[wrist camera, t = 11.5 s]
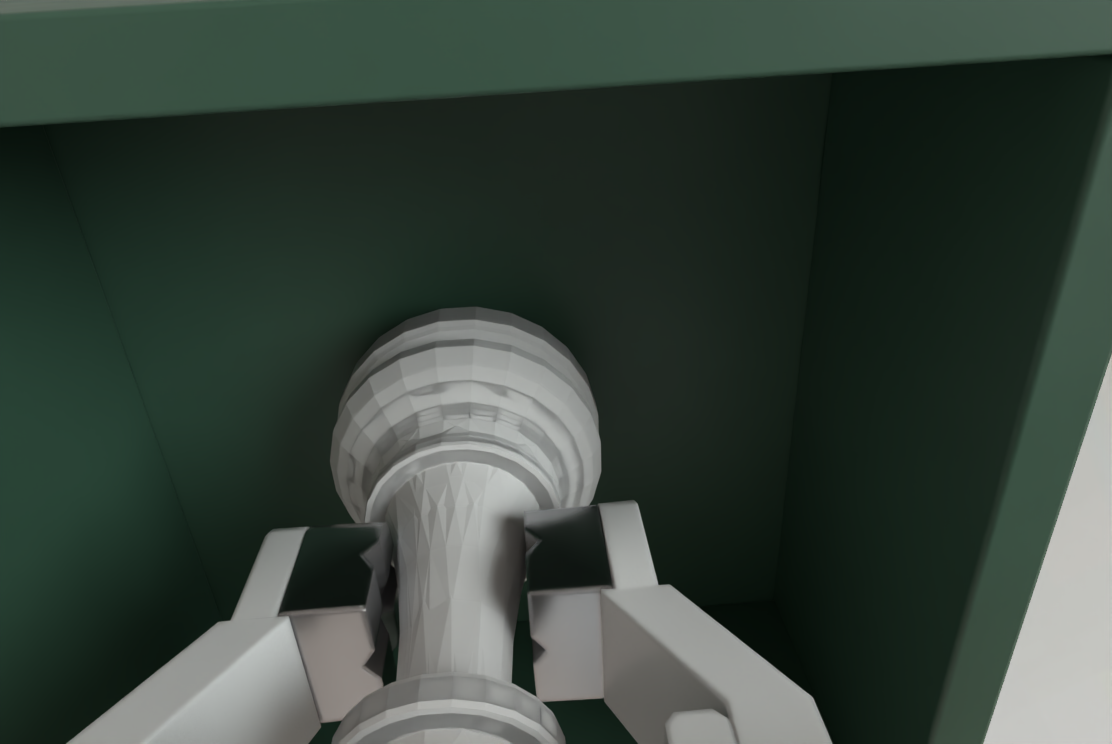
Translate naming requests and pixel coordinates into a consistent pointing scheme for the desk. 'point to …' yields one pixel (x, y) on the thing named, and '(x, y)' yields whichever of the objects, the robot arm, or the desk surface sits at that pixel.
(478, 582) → the chess piece
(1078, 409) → the bin
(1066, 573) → the desk surface
